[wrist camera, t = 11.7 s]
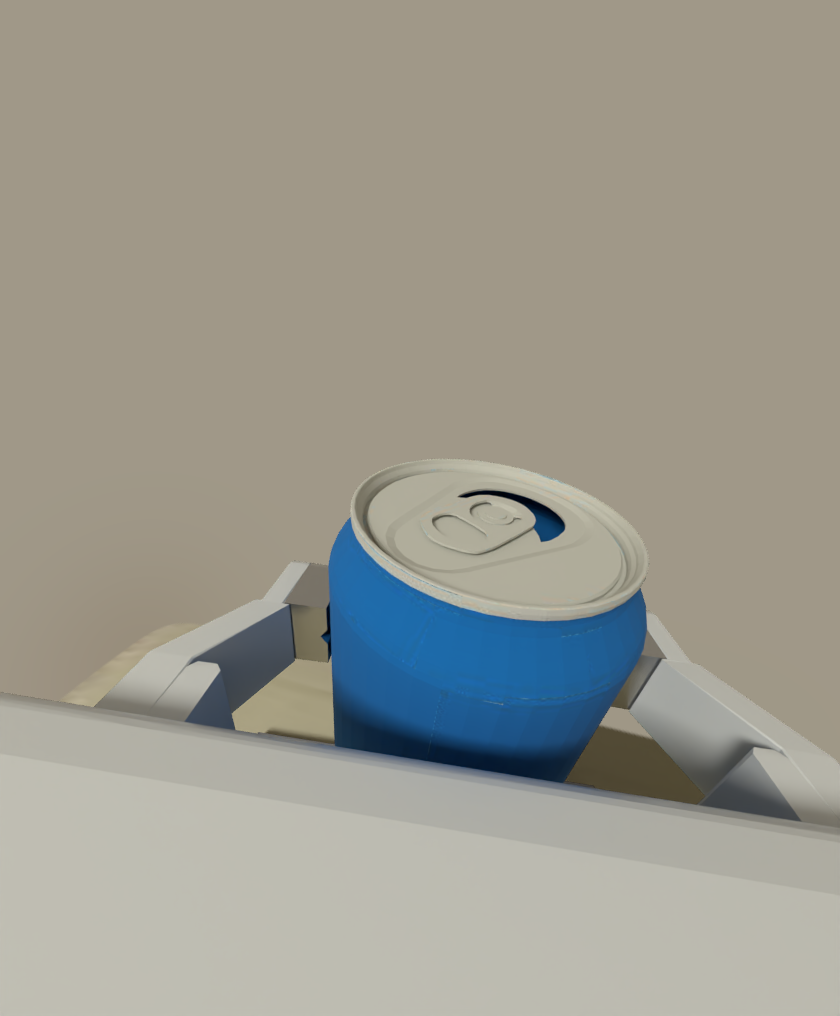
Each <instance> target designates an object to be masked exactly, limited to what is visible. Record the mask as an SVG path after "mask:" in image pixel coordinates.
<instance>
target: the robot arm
mask: <svg viewBox="0 0 840 1016" xmlns="http://www.w3.org/2000/svg"><path fill="white" fill-rule="evenodd" d="M646 617H647V632H646V638H645V644H644V649H643V652H642V654H641V656H640V658H639V660H638V662H637V664H636V666H635V668H634V669H633V671H632V672H631V674H630V676H629V677H628V679H627V681H626V682H625V684H624V685H623V687H622V689H621V690H620V692H619V693H618V695H617V697H616V698H615V700H614V702H613V703H612V705H611V707H617V708H623V709H628V710H629V712H630V713H631V714H632V716H633V717H634V718H635V719H636V720H637V721H638V722H639V723H640V724H641V725H642V727H643V728H644V729H645V730H646V731H647V732H648V733H649V734H650V735H651V736H652V738H653V739H654V740H655V741H656V742H657V743H658V744H659V745H660V746H661V748H662V749H663V750H664V751H665V752H666V753H667V754H668V755H669V756H670V757H671V759H672V760H673V761H674V762H675V763H676V764H677V765H678V766H679V767H680V768H681V770H682V771H683V772H684V773H685V774H686V775H687V776H688V777H689V778H690V780H691V781H692V782H693V783H694V784H695V785H696V786H697V787H698V788H699V789H700V791H701V792H702V793H703V794H704V795H705V797H704V798H703V799H702V800H701V801H700V802H699V803H698V804H697V805H695V804H689V803H683V802H676V801H670V800H664V799H658V798H652V797H645V796H639V795H633V794H627V793H621V792H614V791H608V790H602V789H596V788H590V787H583V786H577V785H571V784H565V783H559V782H552V781H546V780H540V779H534V778H528V777H521V776H515V775H509V774H503V773H497V772H491V771H484V770H478V769H472V768H466V767H460V766H453V765H447V764H441V763H435V762H429V761H422V760H416V759H410V758H404V757H398V756H392V755H385V754H379V753H373V752H367V751H361V750H355V749H348V748H342V747H336V746H330V745H324V744H318V743H311V742H305V741H299V740H293V739H287V738H281V737H274V736H268V735H262V734H256V733H250V732H244V731H237V730H235V726H234V722H233V718H232V714H231V713H233V712H234V711H235V710H236V709H237V708H239V707H240V706H241V705H242V704H243V703H245V702H246V701H247V700H248V699H249V698H251V697H252V696H253V695H254V694H255V693H257V692H258V691H259V690H260V689H261V688H263V687H264V686H265V685H266V684H267V683H269V682H270V681H271V680H272V679H273V678H275V677H276V676H277V675H278V674H279V673H281V672H282V671H283V670H284V669H285V668H287V667H288V666H289V665H290V664H291V663H293V662H294V661H295V659H302V660H310V661H318V662H326V663H328V662H329V659H330V657H331V654H332V653H331V625H330V598H329V571H328V566H327V565H321V564H315V563H307V562H300V561H293V562H291V563H289V565H288V566H287V567H286V569H285V570H284V572H283V573H282V574H281V575H280V577H279V578H278V579H277V581H276V582H275V583H274V585H273V586H272V587H271V589H270V590H269V591H268V592H267V594H266V595H265V596H264V598H263V599H262V600H254V601H252V602H250V603H248V604H246V605H244V606H242V607H239V608H238V609H235V610H233V611H231V612H229V613H227V614H225V615H223V616H221V617H219V618H217V619H215V620H213V621H211V622H209V623H207V624H205V625H203V626H200V627H198V628H196V629H194V630H192V631H190V632H188V633H186V634H184V635H182V636H180V637H178V638H176V639H174V640H172V641H170V642H168V643H166V644H163V645H161V646H159V647H157V648H155V649H153V650H151V651H149V652H148V653H147V654H146V655H145V656H144V657H143V658H142V659H141V660H140V661H139V662H138V663H137V664H136V665H135V666H134V667H133V668H132V669H131V670H130V671H129V672H128V673H127V674H126V675H125V676H124V677H123V678H122V679H121V680H120V681H119V682H118V683H117V684H116V685H115V686H114V687H113V688H112V689H111V690H110V691H109V692H108V693H107V694H106V695H105V696H104V697H103V698H102V699H101V700H100V701H99V702H98V703H97V704H96V705H95V706H94V707H90V706H84V705H77V704H71V703H65V702H59V701H52V700H47V699H40V698H34V697H28V696H21V695H16V694H10V693H4V692H0V1016H840V764H839V763H838V762H837V761H836V760H835V759H834V758H833V757H832V756H830V755H829V754H827V753H826V752H824V751H823V750H822V749H820V748H819V747H817V746H816V745H814V744H813V743H811V742H810V741H809V740H807V739H806V738H804V737H803V736H801V735H800V734H798V733H797V732H795V731H794V730H793V729H791V728H790V727H788V726H787V725H785V724H784V723H783V722H781V721H780V720H778V719H777V718H775V717H774V716H772V715H771V714H770V713H768V712H767V711H765V710H763V709H762V708H761V707H759V706H757V704H755V703H753V702H752V701H751V700H749V699H748V698H746V697H745V696H744V695H742V694H741V693H739V692H738V691H736V690H735V689H733V688H732V687H730V686H729V685H728V684H726V683H725V682H723V681H722V680H720V679H719V678H718V677H716V676H714V675H713V674H712V673H710V672H709V671H707V670H706V669H705V668H703V667H702V666H700V665H699V664H693V663H691V662H690V660H689V659H688V658H687V657H686V655H685V654H684V653H683V651H682V650H681V649H680V647H679V646H678V644H677V643H676V642H675V640H674V639H673V638H672V636H671V635H670V634H669V632H668V631H667V630H666V628H665V627H664V626H663V624H662V623H661V622H660V620H659V619H658V618H657V617H656V615H655V614H654V613H652V612H651V611H647V610H646Z"/></svg>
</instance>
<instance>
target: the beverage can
mask: <svg viewBox="0 0 840 1016" xmlns="http://www.w3.org/2000/svg"><path fill="white" fill-rule="evenodd" d="M350 513H351V517H350V518H349V519H348V520H347V522H346V523H345V525H344V526H343V527H342V529H341V531H340V532H339V534H338V536H337V538H336V540H335V543H334V545H333V548H332V551H331V555H330V560H329V566H328V571H329V598H330V625H331V653H332V680H333V708H334V735H335V746H336V747H342V748H348V749H355V750H361V751H367V752H373V753H379V754H385V755H392V756H398V757H404V758H410V759H416V760H422V761H429V762H435V763H441V764H447V765H453V766H460V767H466V768H472V769H478V770H484V771H491V772H497V773H503V774H509V775H515V776H521V777H528V778H534V779H540V780H546V781H552V782H559V783H564V781H565V779H566V778H567V776H568V774H569V773H570V771H571V770H572V768H573V766H574V765H575V763H576V762H577V760H578V758H579V757H580V755H581V753H582V752H583V750H584V749H585V747H586V745H587V744H588V742H589V740H590V739H591V737H592V736H593V734H594V732H595V731H596V729H597V727H598V726H599V724H600V723H601V721H602V719H603V718H604V716H605V714H606V713H607V711H608V709H609V708H610V706H611V705H612V703H613V702H614V700H615V698H616V697H617V695H618V693H619V692H620V690H621V689H622V687H623V685H624V684H625V682H626V681H627V679H628V677H629V676H630V674H631V672H632V671H633V669H634V668H635V666H636V664H637V662H638V660H639V658H640V656H641V654H642V652H643V649H644V644H645V638H646V632H647V617H646V605H645V602H644V599H643V595H642V592H641V588H640V587H641V586H642V584H643V582H644V581H645V579H646V575H647V571H648V567H649V558H648V552H647V549H646V547H645V544H644V542H643V540H642V539H641V537H640V536H639V534H638V533H637V532H636V530H635V529H634V528H633V527H632V526H631V525H630V523H628V522H627V521H626V520H625V519H624V518H623V517H622V516H621V515H620V514H619V513H617V512H616V511H615V510H613V509H612V508H611V507H609V506H608V505H606V504H604V503H603V502H601V501H600V500H598V499H597V498H595V497H593V496H591V495H589V494H587V493H586V492H584V491H582V490H580V489H577V488H575V487H573V486H571V485H569V484H566V483H564V482H561V481H559V480H556V479H553V478H550V477H548V476H545V475H542V474H538V473H535V472H532V471H528V470H524V469H521V468H517V467H512V466H507V465H502V464H497V463H491V462H484V461H474V460H462V459H431V460H420V461H413V462H407V463H403V464H399V465H395V466H392V467H389V468H386V469H383V470H381V471H379V472H377V473H375V474H373V475H372V476H370V477H369V478H367V479H366V480H365V481H364V482H363V483H361V484H360V486H359V487H358V488H357V489H356V491H355V493H354V495H353V498H352V502H351V512H350Z"/></svg>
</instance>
